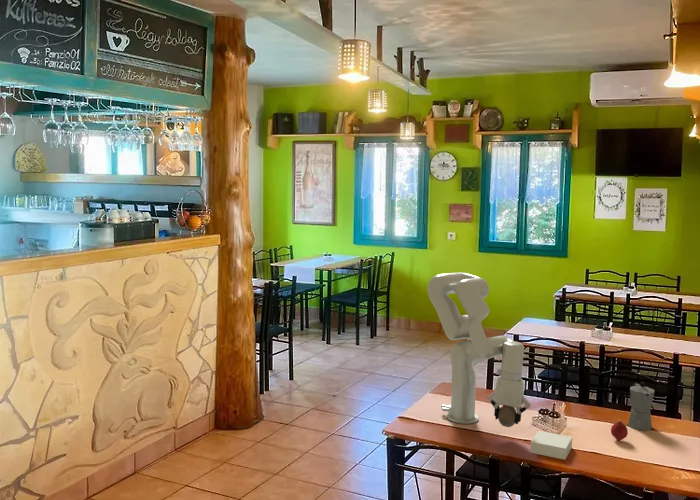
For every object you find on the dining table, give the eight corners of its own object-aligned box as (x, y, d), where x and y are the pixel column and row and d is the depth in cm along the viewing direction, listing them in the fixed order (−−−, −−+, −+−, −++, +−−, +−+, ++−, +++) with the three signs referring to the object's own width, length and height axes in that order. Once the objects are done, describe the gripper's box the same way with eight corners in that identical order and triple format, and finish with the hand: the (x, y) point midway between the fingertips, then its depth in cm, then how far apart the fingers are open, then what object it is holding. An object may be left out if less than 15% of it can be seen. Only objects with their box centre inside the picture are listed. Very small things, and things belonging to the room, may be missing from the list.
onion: (626, 438, 251) (627, 418, 250) (627, 444, 245) (628, 423, 244) (610, 436, 253) (611, 416, 252) (610, 442, 247) (611, 421, 246)
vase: (516, 429, 246) (518, 407, 245) (497, 427, 247) (499, 404, 246) (515, 422, 253) (517, 400, 251) (497, 420, 254) (499, 398, 253)
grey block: (530, 452, 237) (530, 441, 236) (538, 441, 247) (538, 430, 247) (565, 459, 231) (565, 448, 231) (571, 447, 242) (572, 437, 241)
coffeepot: (658, 433, 257) (661, 387, 255) (633, 432, 258) (636, 386, 256) (643, 418, 272) (646, 375, 270) (620, 418, 273) (622, 375, 271)
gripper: (485, 372, 248) (481, 418, 251) (532, 382, 240) (527, 429, 242) (491, 367, 254) (487, 412, 257) (537, 376, 246) (532, 422, 249)
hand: (507, 420), depth 250 cm, fingers closed on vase, 6 cm apart
